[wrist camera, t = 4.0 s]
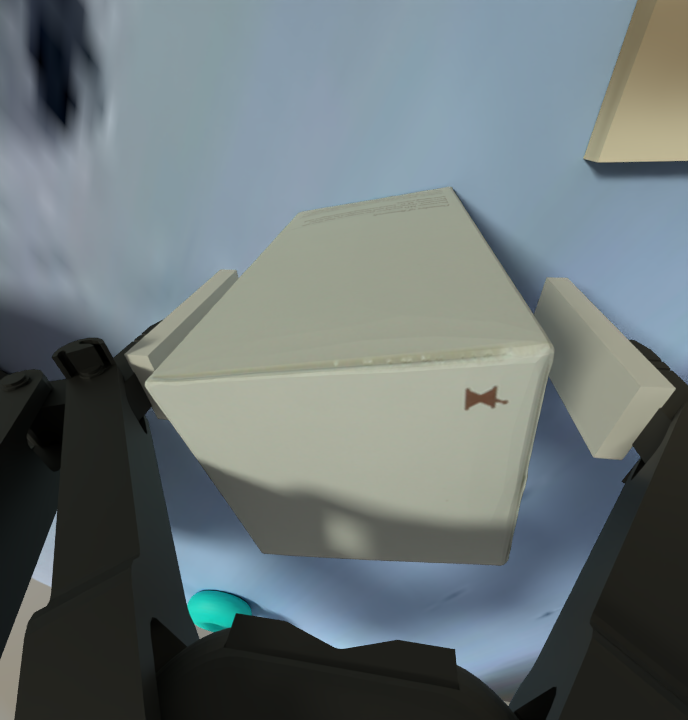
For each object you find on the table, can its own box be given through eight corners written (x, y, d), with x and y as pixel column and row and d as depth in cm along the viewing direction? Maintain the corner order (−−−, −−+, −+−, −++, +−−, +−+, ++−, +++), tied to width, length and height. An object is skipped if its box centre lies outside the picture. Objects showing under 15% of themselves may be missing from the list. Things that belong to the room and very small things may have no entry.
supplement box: (294, 208, 16) (121, 373, 6) (455, 182, 15) (584, 345, 4) (325, 337, 20) (255, 560, 10) (452, 327, 19) (514, 577, 9)
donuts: (200, 679, 41) (242, 698, 46) (232, 586, 49) (265, 612, 54) (141, 672, 44) (186, 691, 49) (180, 587, 52) (215, 611, 57)
